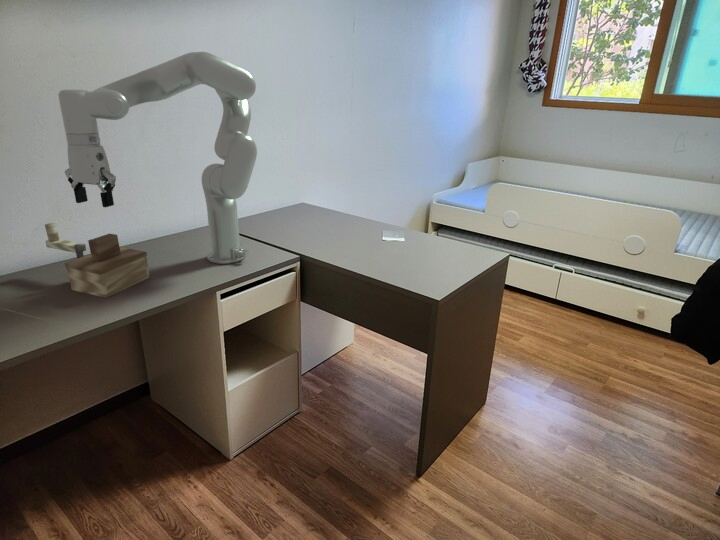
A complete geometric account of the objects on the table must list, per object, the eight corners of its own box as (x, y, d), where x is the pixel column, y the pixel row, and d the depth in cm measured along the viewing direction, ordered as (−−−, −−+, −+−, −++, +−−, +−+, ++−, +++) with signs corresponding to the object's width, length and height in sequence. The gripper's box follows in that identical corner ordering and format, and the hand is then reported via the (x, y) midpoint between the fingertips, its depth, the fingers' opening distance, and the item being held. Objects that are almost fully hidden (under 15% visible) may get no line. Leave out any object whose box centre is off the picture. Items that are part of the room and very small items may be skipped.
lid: (147, 258, 141) (143, 232, 137) (101, 278, 126) (95, 249, 123) (114, 252, 145) (109, 226, 142) (66, 270, 131) (59, 242, 128)
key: (86, 250, 139) (81, 227, 136) (78, 253, 137) (73, 230, 134) (55, 244, 143) (50, 222, 141) (46, 247, 141) (41, 224, 138)
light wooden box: (149, 277, 143) (143, 241, 138) (106, 298, 129) (98, 258, 124) (112, 269, 148) (105, 234, 143) (66, 288, 134) (57, 250, 129)
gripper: (120, 141, 123) (130, 205, 129) (72, 136, 128) (83, 197, 135) (95, 144, 116) (107, 211, 123) (46, 139, 122) (59, 203, 128)
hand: (95, 204), depth 129 cm, fingers open, 9 cm apart
